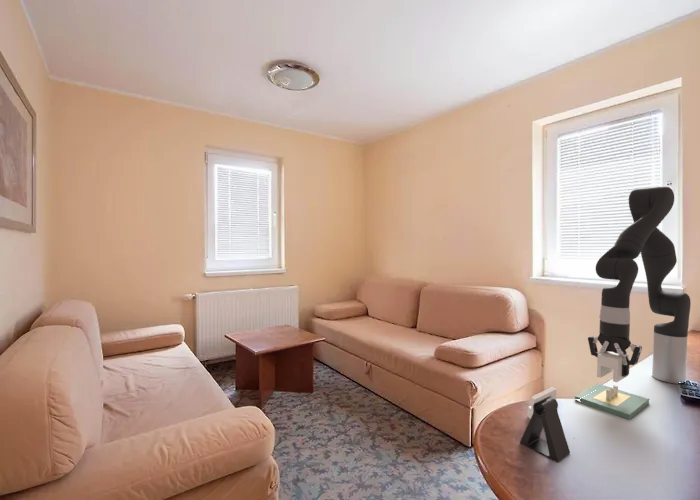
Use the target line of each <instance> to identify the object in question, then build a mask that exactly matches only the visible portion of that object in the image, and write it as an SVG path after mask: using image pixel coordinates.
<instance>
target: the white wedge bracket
mask: <svg viewBox="0 0 700 500" xmlns="http://www.w3.org/2000/svg"><path fill="white" fill-rule="evenodd" d="M546 397H550V398H549V399H547V401H549V400H551V399H553V398H554V399H555V400H556V401H557V388H555V387H554V386H551V387H549V388H546V389H544V390H543V391H541V392H540V391H539V393H536V394H534V395H533V396H531V400H530V405H529V406H527V407H528V409H527V418H529V420H530V419H531V417H532V415H533V405H534V403H536V402H538V401H540V400H542V399H544V398H546ZM547 401H546V402H547Z"/></svg>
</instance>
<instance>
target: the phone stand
mask: <svg viewBox="0 0 700 500" xmlns="http://www.w3.org/2000/svg"><path fill="white" fill-rule="evenodd" d="M549 398H550V397H546V398H544V399H542V400H540V401H538V402H536V403H534V405H533V415H532V417H531V419H530V418H529V422H528V423H527V426H526V427H525V430H524V432H523V434H522V436H521V439H520V441H519V444H520V445H523V446H525V447H526V448H528V449H530V450H532V451H534V452H536V453H538V454H540V455H542V456H544V457H546V458H548V459H550V460H551V461H554V462H555V463H558V462H560V461H561V460H563V459H564V458H566V457H567V456H568V455H570V454H571V451H570V447H569V445H568V441H567V438H566V434H565V432H564V429H563V425H562V422H561V419H560V415H559V412H558V408H559V404H558V403H559V402H558V401H557V399H556V400H555V399H554V398H553V399H551V400H549V401H547V399H549ZM546 401H547V402H546ZM542 430H543V432H544V436H545V439H542V438H541V435H542Z"/></svg>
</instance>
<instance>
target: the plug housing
mask: <svg viewBox="0 0 700 500" xmlns="http://www.w3.org/2000/svg"><path fill="white" fill-rule="evenodd" d="M620 354H621V353H620ZM627 354H628V358H629V359H630V353H627ZM596 359H597V362H596V363H597V364H596V378H599V379H601V378H603V377H605V376H607V375H609V374H610V373H612V382H615V383H618V382H620V381H622V380H623V379H625V378H627V377H628V376H629V374H628V375H627V376H626V377H623V376H622V365H623V363H622V357H619V355H618V354H617V353H614V352H606V353H601V354H598V358H597V357H596Z"/></svg>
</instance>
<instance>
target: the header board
mask: <svg viewBox="0 0 700 500" xmlns="http://www.w3.org/2000/svg"><path fill="white" fill-rule="evenodd" d="M595 390H596V391H595ZM593 391H594V392H593ZM591 392H592V393H591ZM588 394H589V395H588ZM586 395H587V396H586ZM584 396H585V397H584ZM582 397H583V398H582ZM580 398H581V399H580ZM575 399H580V401H581V402H583V403H585V404H584V405H586V404H587V405H586V406H589V407H592V408H594V409H596V410H597V409H598V410H600V411H603V412H606V413H609V414H612V415H614V416H617V417H620V418H623V419H625V420H627V421H628V420H629V421H630V420H631V419H632V418H633V417H635V416H636V415H637V414H638V413H639V412H641V411H642V410H643V409H644V408H645V407H647V406H648V405H649V404H650V399H649V398H647V397H645V396H640V395H637V394H633V393H631V392H630V393H629V392H627V391H624V390H621V389H619V386H618V385H615V384H614V385H613V387H611V386H607V385H603V384H601V383H596V384H594V385H592V386H591V387H589V388H587V389H585V390H583V391H581V392H579V393H578V394H576V395H574V400H575ZM583 403H582V404H583Z"/></svg>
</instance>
